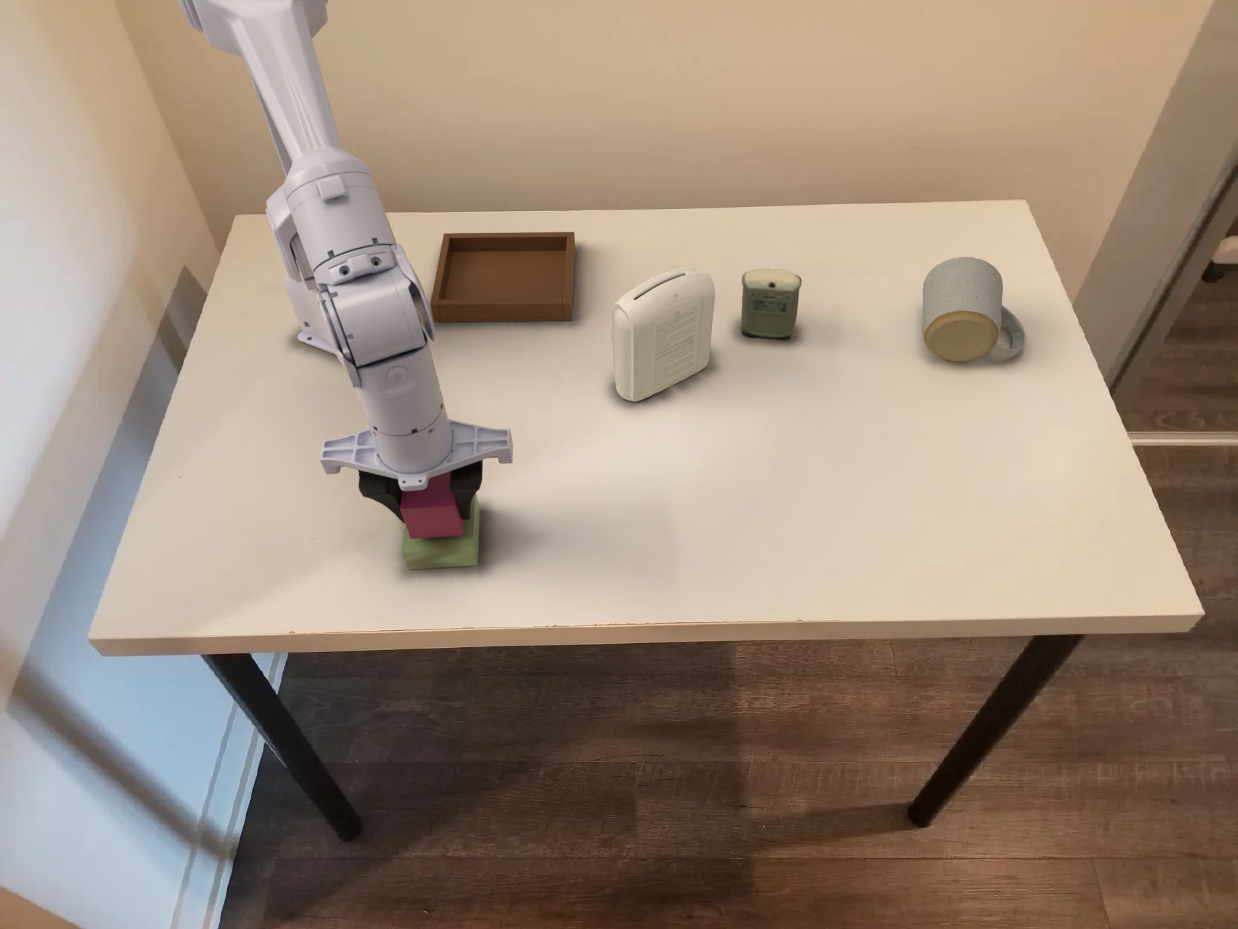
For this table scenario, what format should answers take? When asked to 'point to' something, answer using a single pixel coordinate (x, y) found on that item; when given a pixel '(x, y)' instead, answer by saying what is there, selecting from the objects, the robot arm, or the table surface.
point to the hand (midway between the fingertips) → (436, 511)
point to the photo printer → (662, 331)
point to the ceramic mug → (967, 311)
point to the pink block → (432, 510)
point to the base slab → (445, 546)
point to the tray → (504, 277)
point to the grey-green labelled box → (769, 303)
